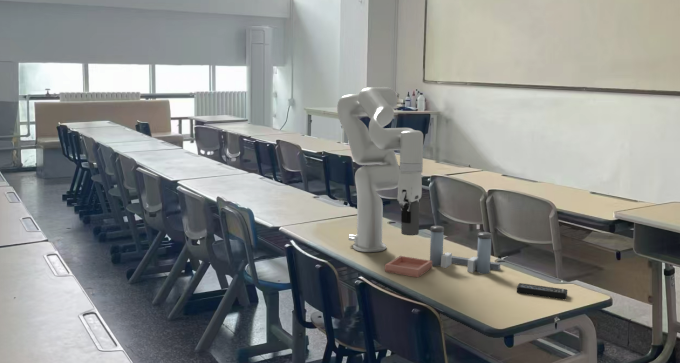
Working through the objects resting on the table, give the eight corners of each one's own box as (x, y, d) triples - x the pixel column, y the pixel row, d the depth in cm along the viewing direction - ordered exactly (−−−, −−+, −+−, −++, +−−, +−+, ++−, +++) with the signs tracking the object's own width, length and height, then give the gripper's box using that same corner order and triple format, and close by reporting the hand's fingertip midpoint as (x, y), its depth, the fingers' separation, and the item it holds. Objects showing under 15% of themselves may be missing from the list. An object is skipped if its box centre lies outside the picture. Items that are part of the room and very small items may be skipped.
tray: (385, 271, 230) (385, 264, 229) (400, 262, 240) (400, 255, 240) (417, 277, 224) (418, 270, 223) (431, 267, 234) (432, 260, 234)
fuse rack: (422, 264, 238) (423, 227, 236) (432, 258, 246) (433, 222, 243) (492, 275, 226) (494, 236, 224) (500, 268, 233) (501, 231, 231)
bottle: (417, 236, 226) (418, 191, 224) (400, 235, 227) (401, 190, 225) (419, 231, 232) (420, 188, 229) (402, 231, 233) (403, 187, 230)
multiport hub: (518, 289, 214) (519, 282, 213) (567, 296, 208) (567, 289, 207) (516, 294, 210) (516, 286, 209) (565, 301, 204) (566, 293, 203)
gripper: (411, 163, 235) (410, 214, 238) (389, 170, 220) (388, 224, 223) (431, 165, 231) (430, 217, 234) (410, 172, 217) (409, 227, 220)
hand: (410, 220), depth 229 cm, fingers closed on bottle, 5 cm apart
